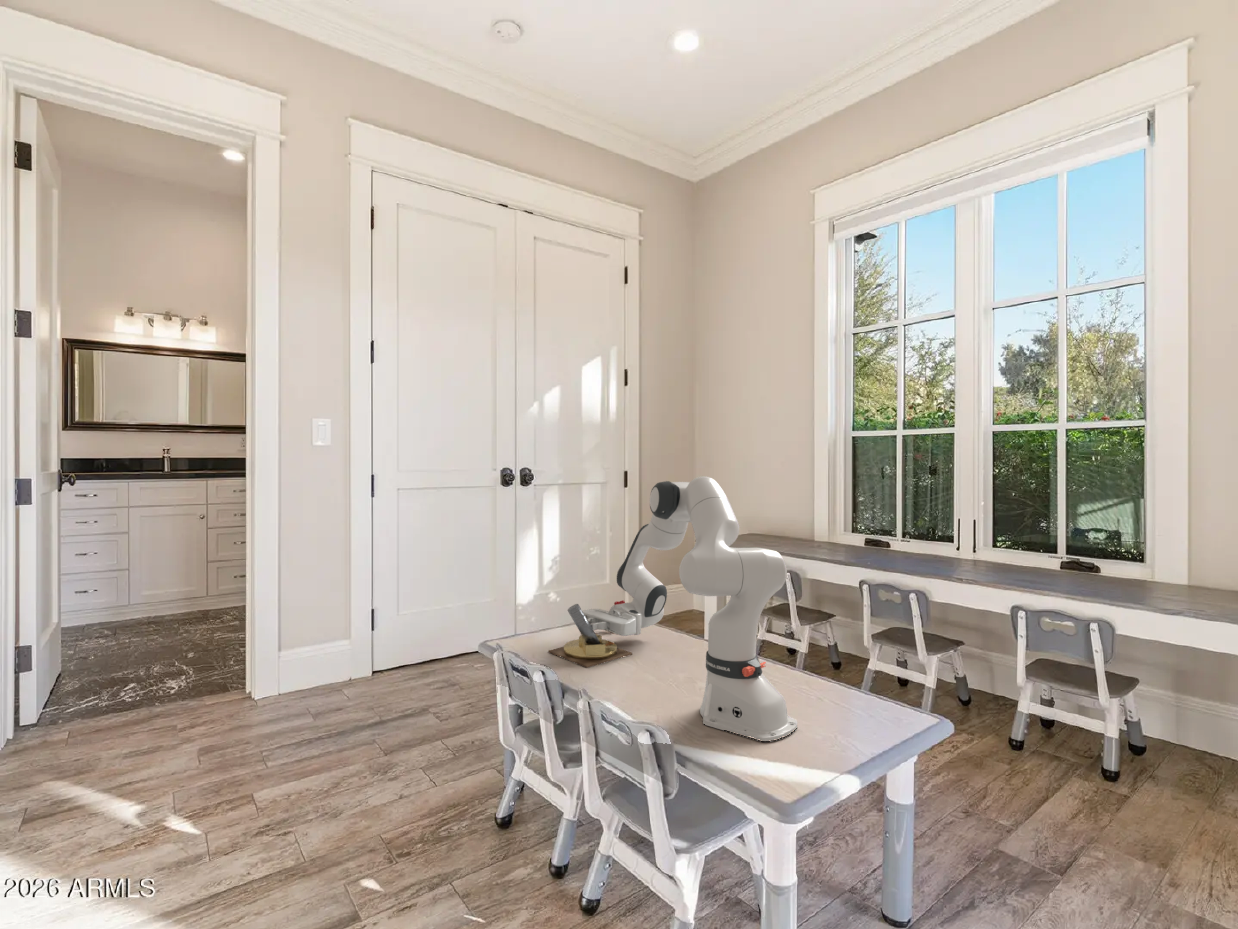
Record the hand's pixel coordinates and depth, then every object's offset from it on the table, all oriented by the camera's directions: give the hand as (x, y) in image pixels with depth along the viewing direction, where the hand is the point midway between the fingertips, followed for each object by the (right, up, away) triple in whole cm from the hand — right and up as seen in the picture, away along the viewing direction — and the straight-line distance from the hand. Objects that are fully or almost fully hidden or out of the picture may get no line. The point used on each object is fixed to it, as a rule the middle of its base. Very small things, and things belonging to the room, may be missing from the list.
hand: (587, 625), depth 186 cm
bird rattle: (+10, -9, +27) cm, 30 cm away
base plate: (+1, -9, +4) cm, 10 cm away
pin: (+3, -6, -2) cm, 7 cm away
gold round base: (+1, -9, +4) cm, 10 cm away
